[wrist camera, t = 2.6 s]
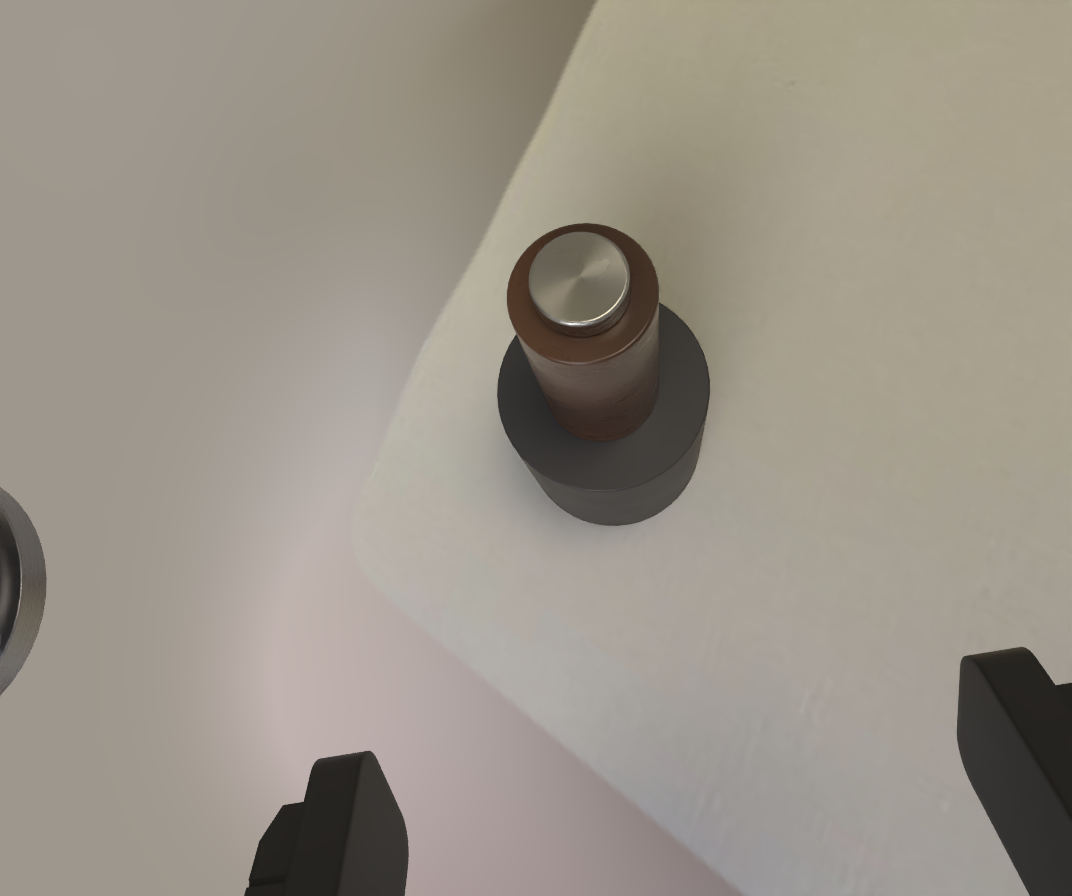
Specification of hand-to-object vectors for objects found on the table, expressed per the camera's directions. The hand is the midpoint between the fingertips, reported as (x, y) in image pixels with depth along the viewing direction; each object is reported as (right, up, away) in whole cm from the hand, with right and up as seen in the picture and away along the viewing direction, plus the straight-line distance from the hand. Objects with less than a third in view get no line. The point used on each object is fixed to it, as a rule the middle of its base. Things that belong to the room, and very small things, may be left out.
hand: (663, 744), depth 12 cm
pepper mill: (0, +6, +14) cm, 16 cm away
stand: (+1, +4, +21) cm, 22 cm away
